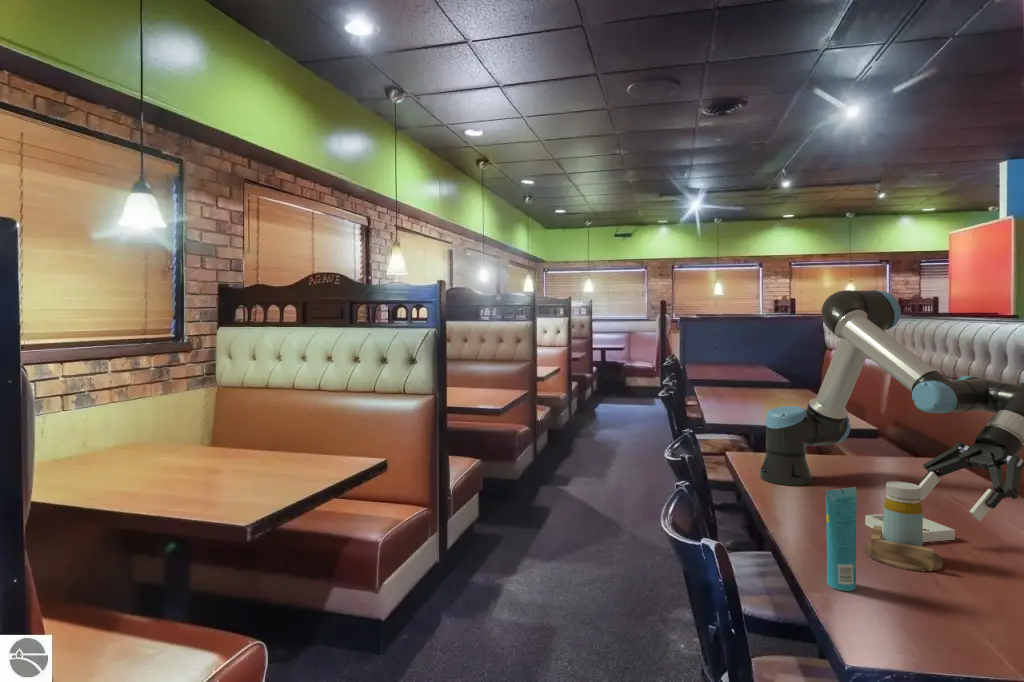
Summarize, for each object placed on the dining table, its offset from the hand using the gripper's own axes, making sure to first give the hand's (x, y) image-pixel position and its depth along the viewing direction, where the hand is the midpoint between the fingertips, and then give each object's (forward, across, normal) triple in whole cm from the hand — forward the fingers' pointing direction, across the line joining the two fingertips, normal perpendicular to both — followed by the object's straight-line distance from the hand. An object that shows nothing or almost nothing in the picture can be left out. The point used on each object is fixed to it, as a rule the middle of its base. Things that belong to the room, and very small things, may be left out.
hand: (944, 505), depth 124 cm
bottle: (+15, 0, 0) cm, 15 cm away
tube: (+31, -10, +16) cm, 37 cm away
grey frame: (+6, +12, -9) cm, 16 cm away
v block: (+15, 0, 0) cm, 15 cm away
